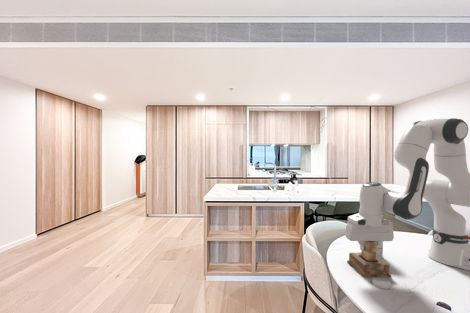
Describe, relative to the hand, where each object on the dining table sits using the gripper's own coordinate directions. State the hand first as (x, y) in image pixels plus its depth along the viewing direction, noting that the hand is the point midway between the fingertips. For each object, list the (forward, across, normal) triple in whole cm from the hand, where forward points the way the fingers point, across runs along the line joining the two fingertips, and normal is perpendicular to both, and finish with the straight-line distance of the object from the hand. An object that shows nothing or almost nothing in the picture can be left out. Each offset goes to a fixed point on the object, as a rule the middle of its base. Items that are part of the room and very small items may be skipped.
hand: (368, 250), depth 98 cm
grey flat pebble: (+9, +2, +11) cm, 14 cm away
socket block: (+9, 0, 0) cm, 9 cm away
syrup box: (+9, -12, -13) cm, 20 cm away
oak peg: (+4, 0, 0) cm, 4 cm away
